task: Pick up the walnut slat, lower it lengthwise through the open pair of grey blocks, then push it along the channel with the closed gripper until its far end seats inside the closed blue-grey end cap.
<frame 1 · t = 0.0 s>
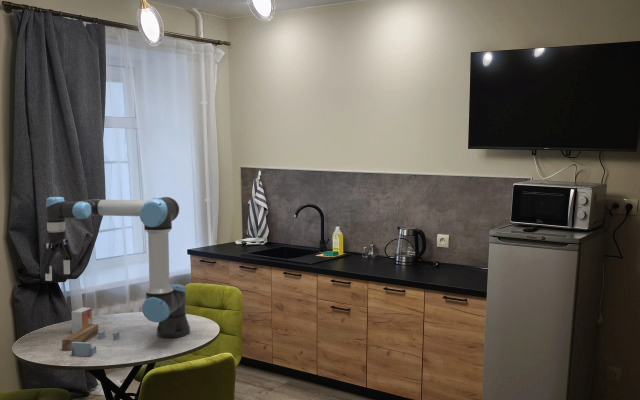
hand: (58, 277, 256), 28 cm above the table, fingers open, 13 cm apart
small box: (82, 331, 266), on the table
slat: (81, 342, 251), on the table
pair of grey blocks: (109, 338, 256), on the table
end cap: (84, 354, 236), on the table
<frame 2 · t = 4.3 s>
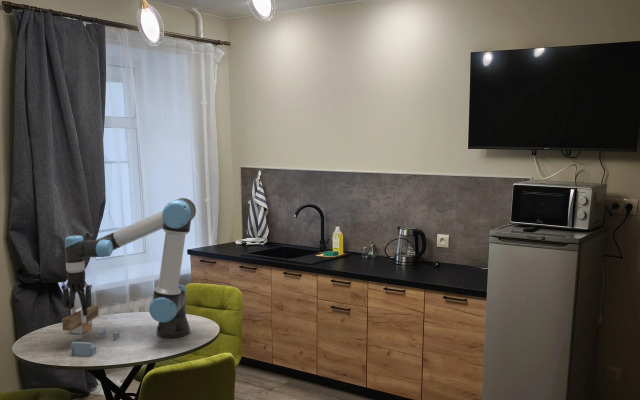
hand: (78, 322, 249), 9 cm above the table, fingers closed on slat, 4 cm apart
slat: (81, 322, 251), point 9 cm above the table, touching gripper
everything else where it was.
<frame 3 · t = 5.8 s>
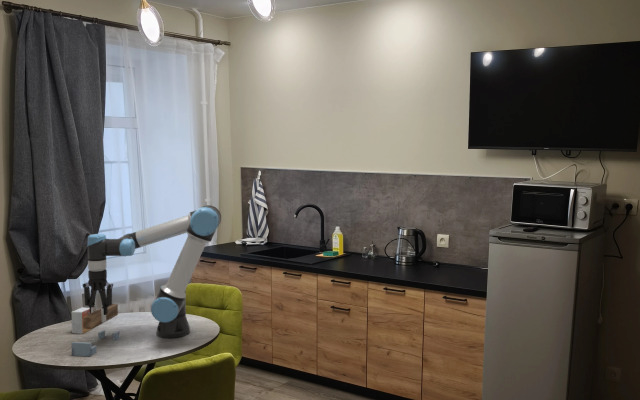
hand: (98, 321, 247), 10 cm above the table, fingers closed on slat, 4 cm apart
slat: (101, 321, 249), point 10 cm above the table, touching gripper
everything else where it was.
when the fingers open (0 cm above the table, at t = 7.7 s): slat stays where it is, on the table.
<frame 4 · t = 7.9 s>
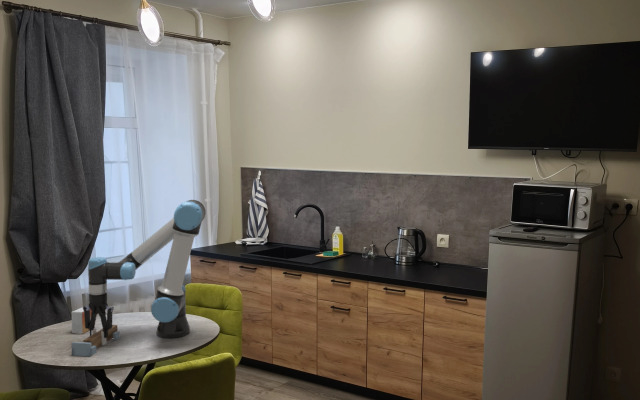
hand: (99, 344, 248), 0 cm above the table, fingers open, 4 cm apart
slat: (101, 343, 250), on the table, touching gripper
everything else where it was.
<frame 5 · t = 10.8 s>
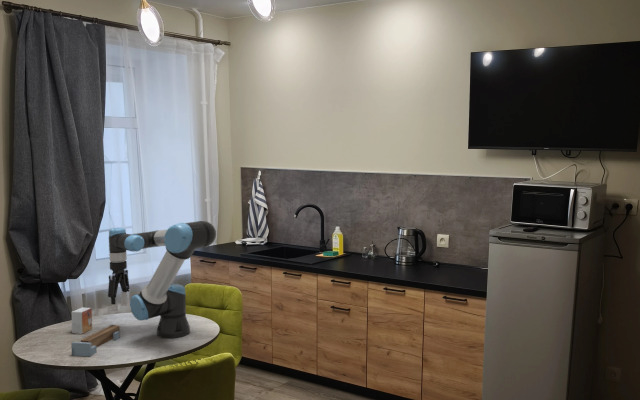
hand: (119, 307, 265), 11 cm above the table, fingers open, 9 cm apart
slat: (101, 343, 250), on the table
everything else where it was.
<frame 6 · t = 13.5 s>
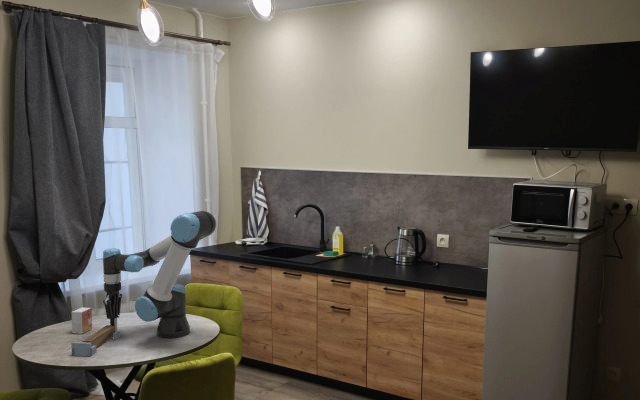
hand: (113, 331, 261), 2 cm above the table, fingers closed
slat: (99, 343, 249), on the table, touching gripper
everything else where it was.
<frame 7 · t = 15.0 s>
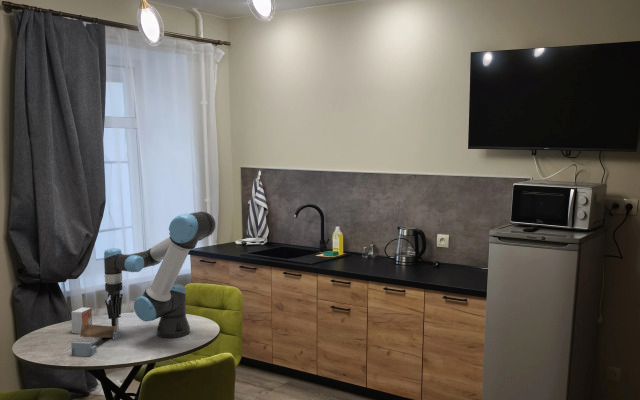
hand: (115, 331, 261), 1 cm above the table, fingers closed
slat: (97, 337, 247), point 4 cm above the table, tilted 19°
everything else where it was.
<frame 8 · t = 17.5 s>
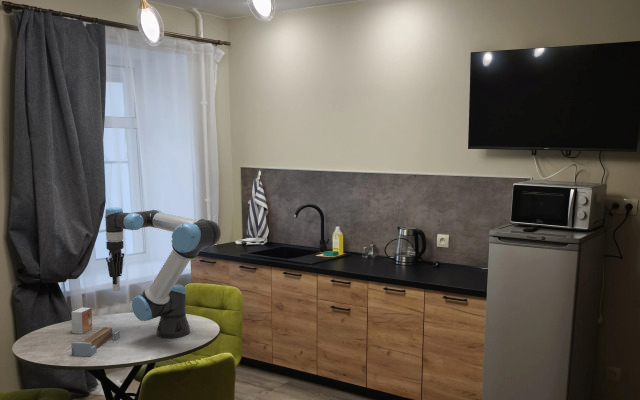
hand: (116, 290, 262), 20 cm above the table, fingers closed
slat: (96, 346, 247), on the table
everything else where it was.
at the end: slat 0.5 cm from the target spot, on the table; slat tilted 0°; the gripper is holding nothing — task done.
